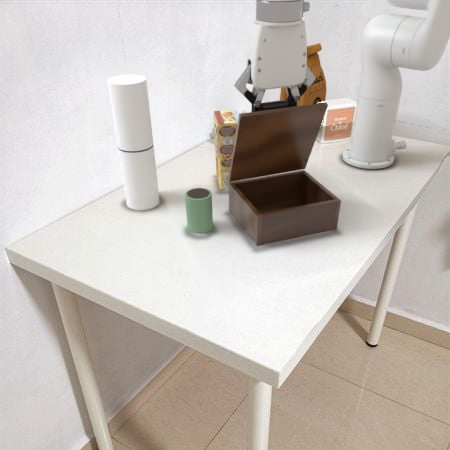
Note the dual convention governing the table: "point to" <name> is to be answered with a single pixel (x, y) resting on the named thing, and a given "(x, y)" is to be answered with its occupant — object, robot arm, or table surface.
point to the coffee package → (318, 87)
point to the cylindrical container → (134, 139)
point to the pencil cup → (199, 210)
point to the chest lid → (275, 139)
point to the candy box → (224, 144)
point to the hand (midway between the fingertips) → (273, 123)
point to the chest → (283, 207)
